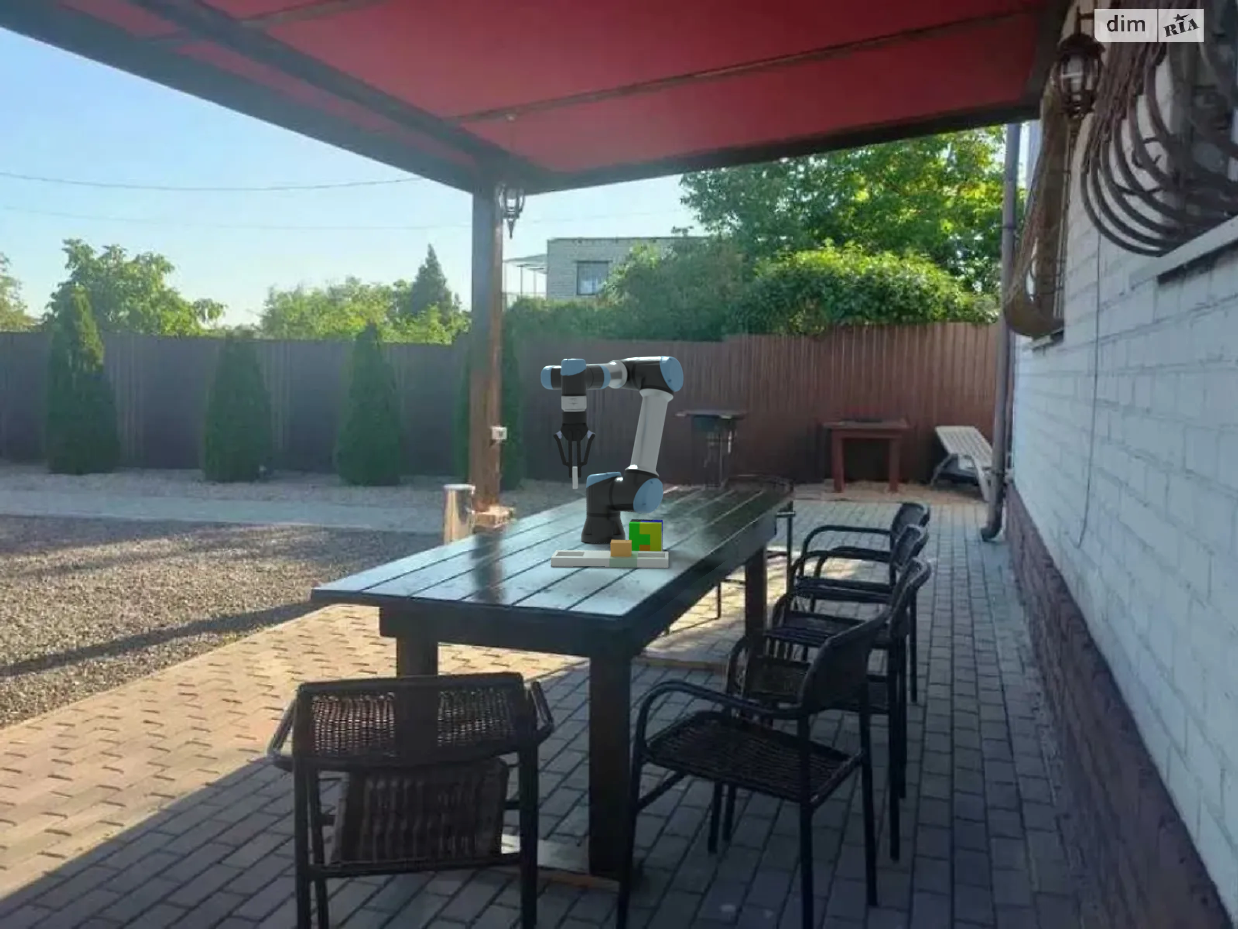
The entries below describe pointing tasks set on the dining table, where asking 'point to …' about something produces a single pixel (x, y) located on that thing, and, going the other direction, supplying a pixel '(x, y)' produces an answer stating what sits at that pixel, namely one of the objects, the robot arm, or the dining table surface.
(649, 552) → the plate
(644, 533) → the puzzle toy
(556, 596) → the dining table surface
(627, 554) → the orange block
